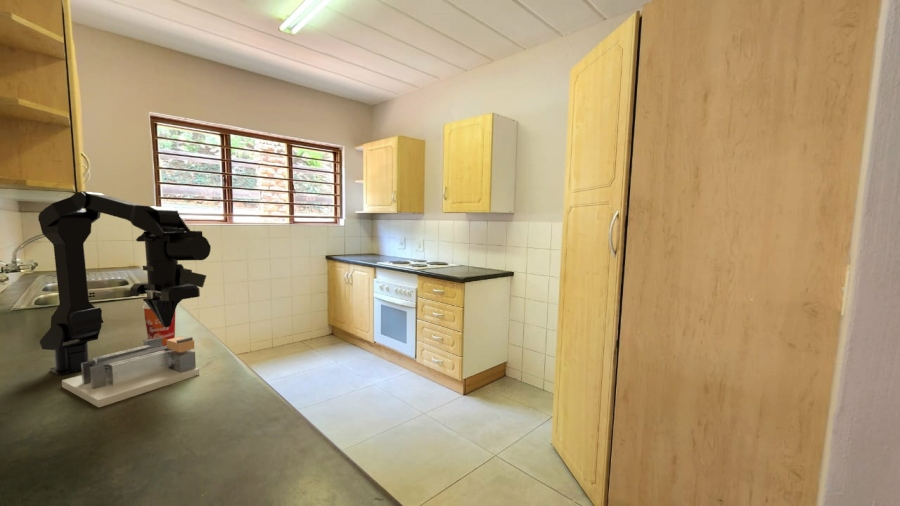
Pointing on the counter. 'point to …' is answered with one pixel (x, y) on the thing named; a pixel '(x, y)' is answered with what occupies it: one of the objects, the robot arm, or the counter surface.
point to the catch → (180, 344)
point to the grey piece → (136, 365)
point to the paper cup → (158, 326)
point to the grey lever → (132, 355)
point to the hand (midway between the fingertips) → (166, 326)
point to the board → (124, 387)
